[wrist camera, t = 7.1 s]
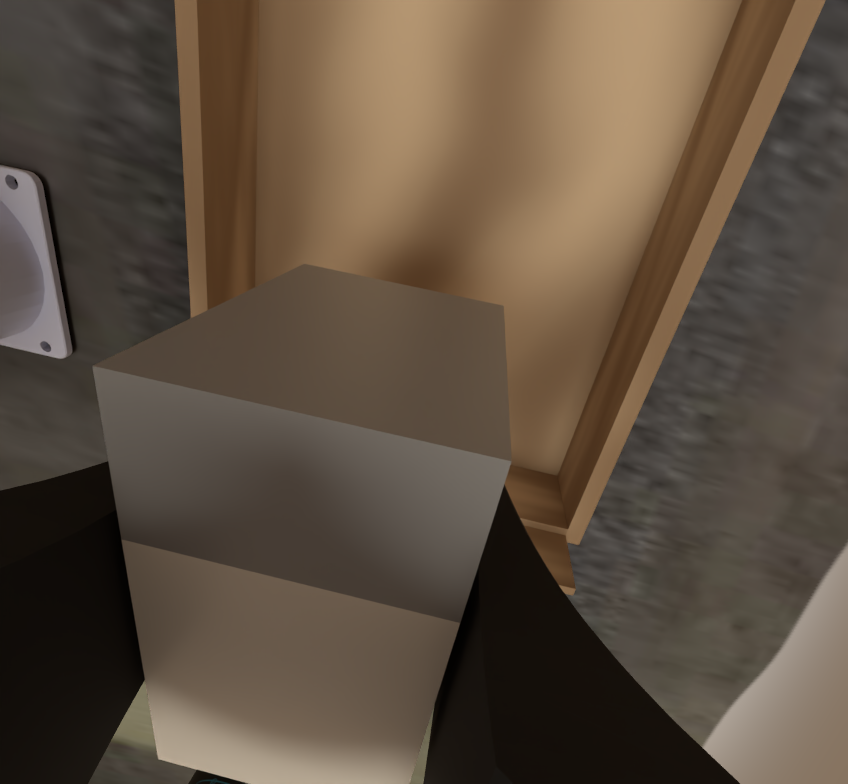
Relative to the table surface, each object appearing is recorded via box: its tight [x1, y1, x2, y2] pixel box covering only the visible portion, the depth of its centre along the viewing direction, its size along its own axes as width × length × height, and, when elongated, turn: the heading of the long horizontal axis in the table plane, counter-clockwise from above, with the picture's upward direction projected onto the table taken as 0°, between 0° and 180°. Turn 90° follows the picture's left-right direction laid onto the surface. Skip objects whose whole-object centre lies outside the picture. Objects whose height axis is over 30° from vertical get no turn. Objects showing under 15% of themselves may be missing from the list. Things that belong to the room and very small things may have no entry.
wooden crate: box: [175, 0, 825, 595], centre depth 14 cm, size 15×21×6 cm
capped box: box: [92, 264, 512, 784], centre depth 9 cm, size 4×8×6 cm, turn 170°
